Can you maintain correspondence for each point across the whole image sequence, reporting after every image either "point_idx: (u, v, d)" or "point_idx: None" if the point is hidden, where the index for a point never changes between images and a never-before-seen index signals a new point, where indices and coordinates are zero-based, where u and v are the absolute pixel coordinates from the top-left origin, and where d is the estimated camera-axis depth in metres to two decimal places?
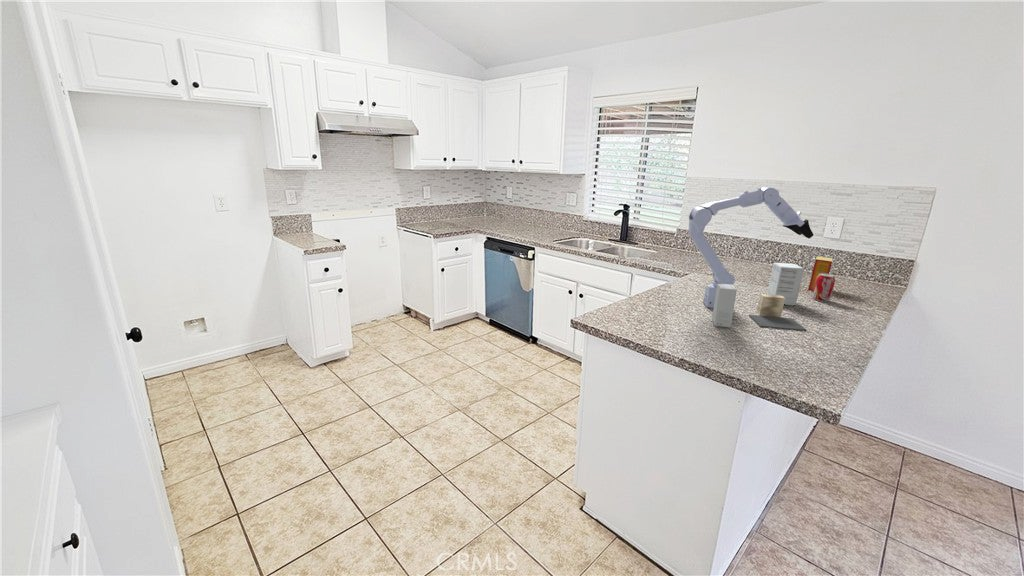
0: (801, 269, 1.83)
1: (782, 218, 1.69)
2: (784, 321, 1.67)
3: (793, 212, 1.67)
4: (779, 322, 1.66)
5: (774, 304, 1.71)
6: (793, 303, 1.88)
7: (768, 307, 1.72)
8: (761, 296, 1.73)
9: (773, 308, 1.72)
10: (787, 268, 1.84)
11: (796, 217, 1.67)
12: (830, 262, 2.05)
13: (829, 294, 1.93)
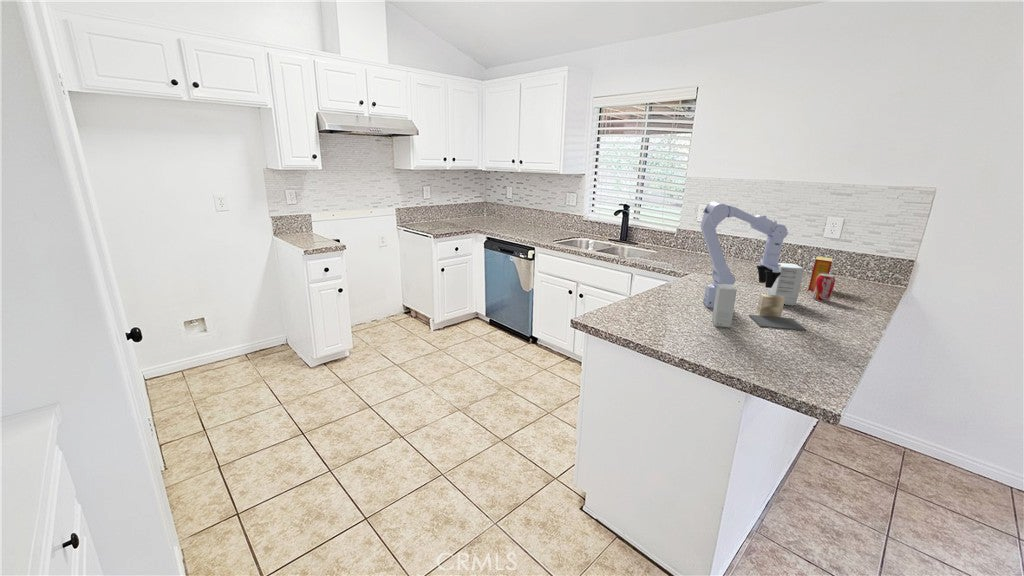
0: (801, 269, 1.83)
1: (766, 257, 1.75)
2: (784, 321, 1.67)
3: (777, 260, 1.74)
4: (779, 322, 1.66)
5: (774, 304, 1.71)
6: (793, 303, 1.88)
7: (768, 307, 1.72)
8: (761, 296, 1.73)
9: (773, 308, 1.72)
10: (787, 268, 1.84)
11: (775, 265, 1.74)
12: (830, 262, 2.05)
13: (829, 294, 1.93)
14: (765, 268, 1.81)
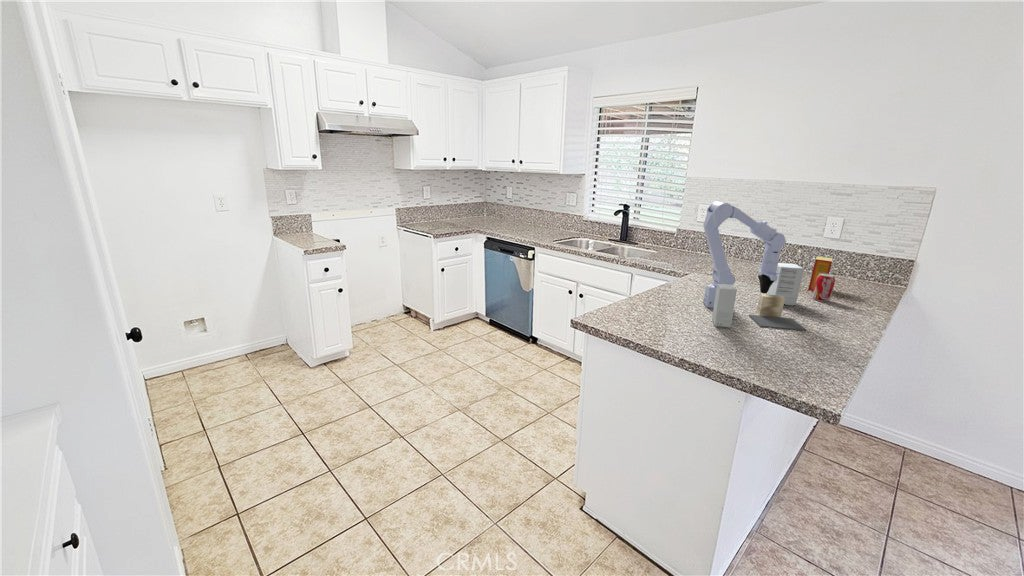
0: (801, 269, 1.83)
1: (765, 265, 1.76)
2: (784, 321, 1.67)
3: (775, 268, 1.75)
4: (779, 322, 1.66)
5: (774, 304, 1.71)
6: (793, 303, 1.88)
7: (768, 307, 1.72)
8: (761, 296, 1.73)
9: (773, 308, 1.72)
10: (787, 268, 1.84)
11: (773, 273, 1.75)
12: (830, 262, 2.05)
13: (829, 294, 1.93)
14: None
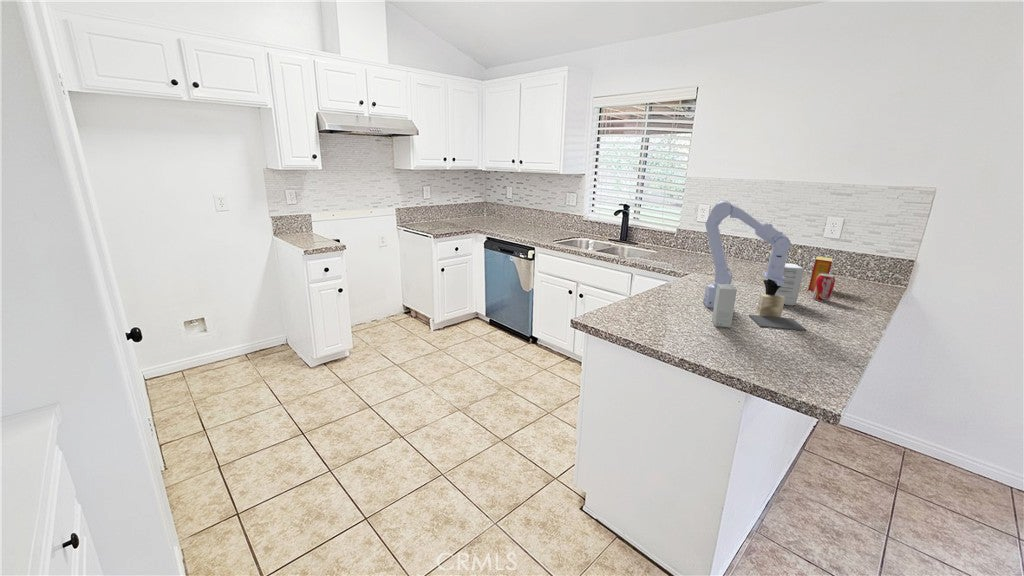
0: (801, 269, 1.83)
1: (771, 269, 1.70)
2: (784, 321, 1.67)
3: (782, 272, 1.69)
4: (779, 322, 1.66)
5: (774, 304, 1.71)
6: (793, 303, 1.88)
7: (768, 307, 1.72)
8: (761, 296, 1.73)
9: (773, 308, 1.72)
10: (787, 268, 1.84)
11: (780, 278, 1.69)
12: (830, 262, 2.05)
13: (829, 294, 1.93)
14: None
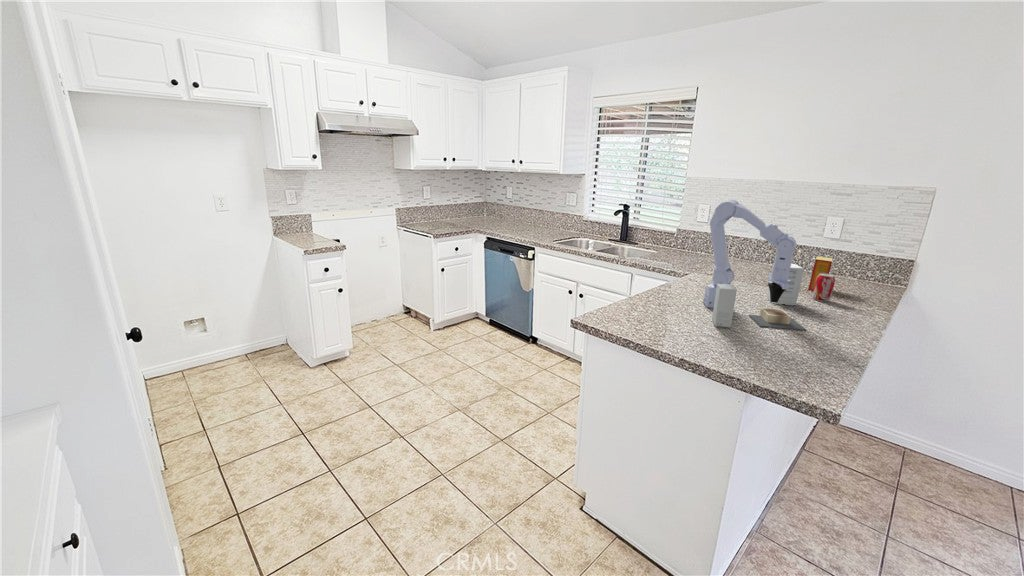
0: (801, 269, 1.83)
1: (775, 272, 1.66)
2: None
3: (787, 275, 1.65)
4: None
5: None
6: (793, 303, 1.88)
7: None
8: (767, 317, 1.66)
9: None
10: None
11: (785, 281, 1.65)
12: (830, 262, 2.05)
13: (829, 294, 1.93)
14: None
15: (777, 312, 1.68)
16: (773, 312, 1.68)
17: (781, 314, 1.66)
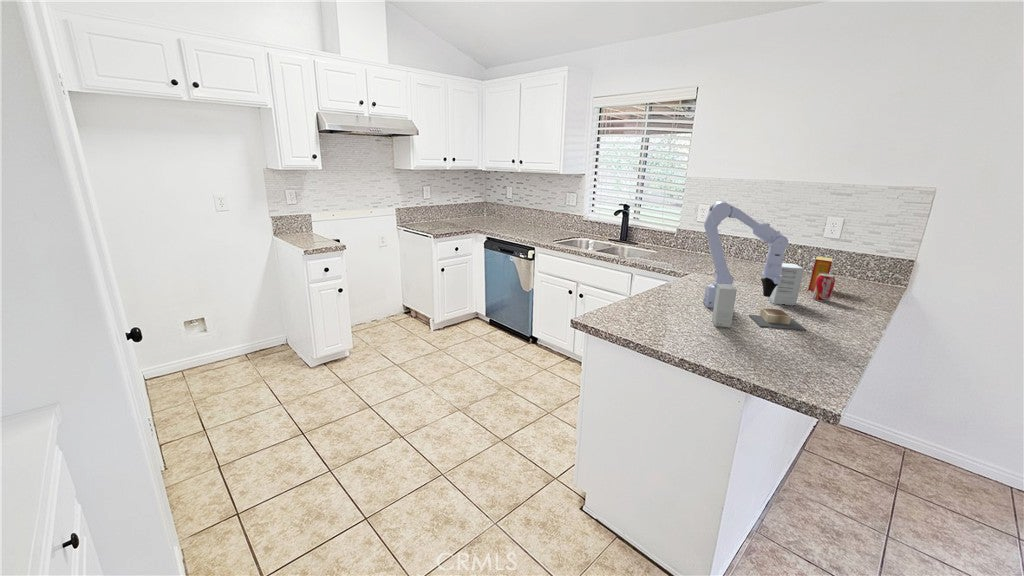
0: (801, 269, 1.83)
1: (768, 268, 1.72)
2: None
3: (779, 271, 1.72)
4: None
5: None
6: (793, 303, 1.88)
7: None
8: (767, 317, 1.66)
9: None
10: (787, 268, 1.84)
11: (777, 276, 1.72)
12: (830, 262, 2.05)
13: (829, 294, 1.93)
14: None
15: (777, 312, 1.68)
16: (773, 312, 1.68)
17: (781, 314, 1.66)
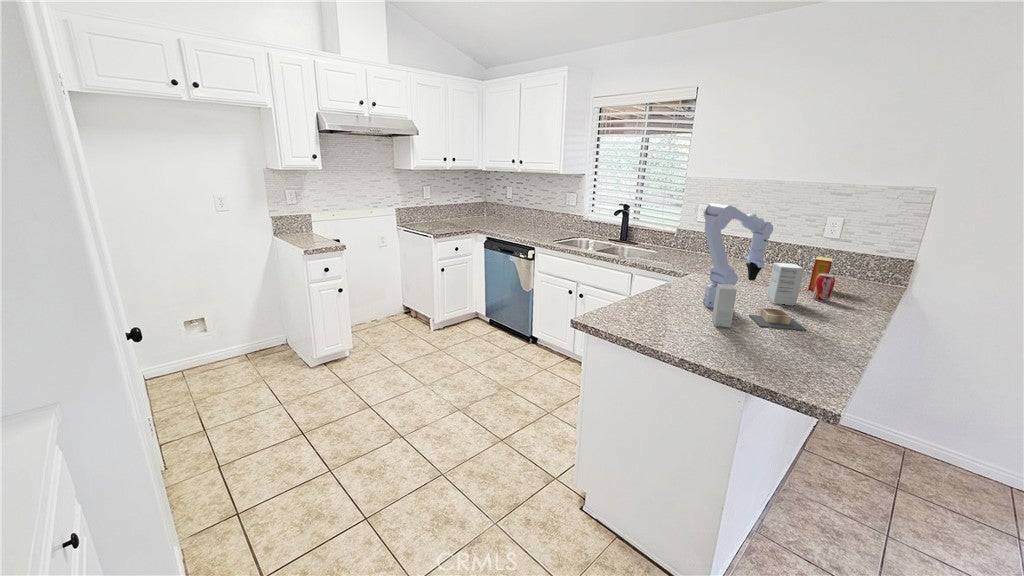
0: (801, 269, 1.83)
1: (752, 253, 1.82)
2: None
3: (763, 255, 1.81)
4: None
5: None
6: (793, 303, 1.88)
7: None
8: (767, 317, 1.66)
9: None
10: (787, 268, 1.84)
11: (761, 260, 1.81)
12: (830, 262, 2.05)
13: (829, 294, 1.93)
14: None
15: (777, 312, 1.68)
16: (773, 312, 1.68)
17: (781, 314, 1.66)
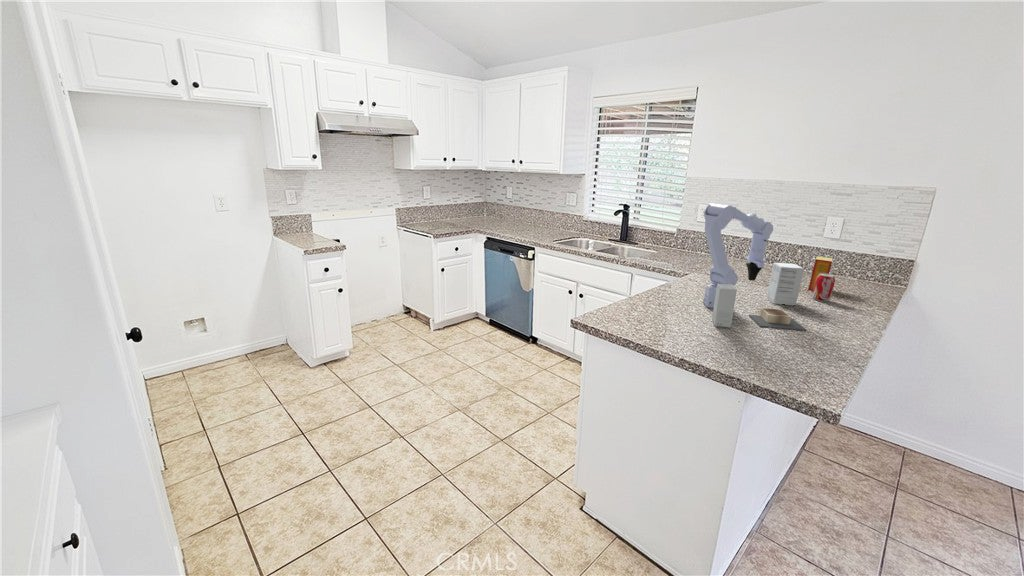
0: (801, 269, 1.83)
1: (752, 253, 1.82)
2: None
3: (763, 255, 1.81)
4: None
5: None
6: (793, 303, 1.88)
7: None
8: (767, 317, 1.66)
9: None
10: (787, 268, 1.84)
11: (761, 260, 1.81)
12: (830, 262, 2.05)
13: (829, 294, 1.93)
14: None
15: (777, 312, 1.68)
16: (773, 312, 1.68)
17: (781, 314, 1.66)
